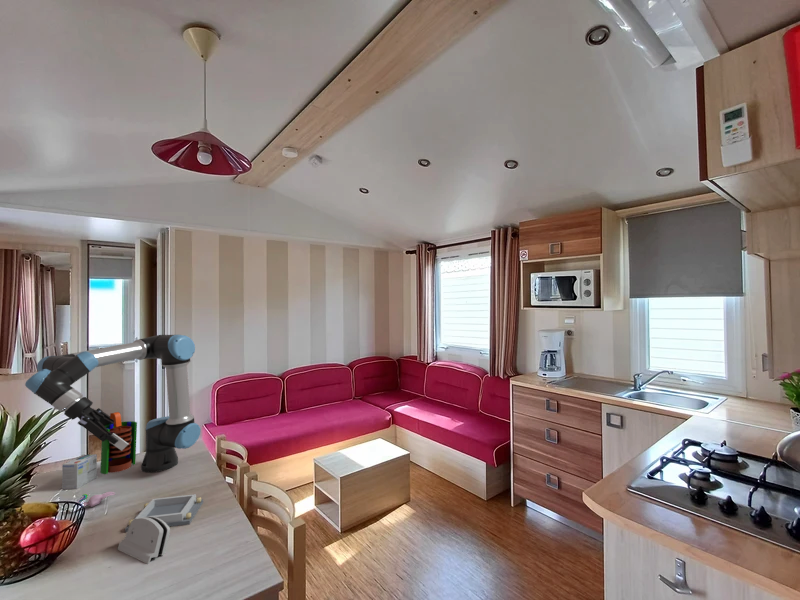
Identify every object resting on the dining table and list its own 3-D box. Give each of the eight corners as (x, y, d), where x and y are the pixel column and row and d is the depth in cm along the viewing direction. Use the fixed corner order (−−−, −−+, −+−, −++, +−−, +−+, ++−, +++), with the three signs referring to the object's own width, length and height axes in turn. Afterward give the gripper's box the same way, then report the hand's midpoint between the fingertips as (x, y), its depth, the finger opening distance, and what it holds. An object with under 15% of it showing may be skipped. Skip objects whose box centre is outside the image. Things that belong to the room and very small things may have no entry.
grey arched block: (116, 549, 114) (129, 513, 117) (132, 545, 118) (143, 511, 121) (148, 564, 106) (160, 526, 110) (163, 560, 110) (174, 523, 114)
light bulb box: (82, 478, 164) (82, 454, 164) (97, 477, 164) (97, 453, 164) (60, 489, 153) (61, 464, 153) (77, 489, 153) (77, 463, 154)
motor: (113, 475, 126) (115, 417, 127) (92, 473, 128) (94, 416, 129) (139, 463, 136) (140, 410, 137) (120, 462, 138) (121, 409, 139)
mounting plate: (146, 508, 137) (146, 499, 137) (203, 502, 141) (203, 492, 141) (125, 532, 122) (125, 521, 122) (189, 524, 127) (189, 513, 127)
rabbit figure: (64, 520, 132) (116, 500, 141) (61, 505, 132) (113, 486, 141) (66, 513, 137) (116, 494, 146) (63, 498, 137) (113, 480, 146)
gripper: (76, 406, 135) (128, 443, 141) (49, 420, 117) (109, 462, 123) (94, 390, 138) (144, 428, 143) (70, 402, 120) (128, 444, 125)
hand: (128, 443), depth 133 cm, fingers closed on motor, 7 cm apart
